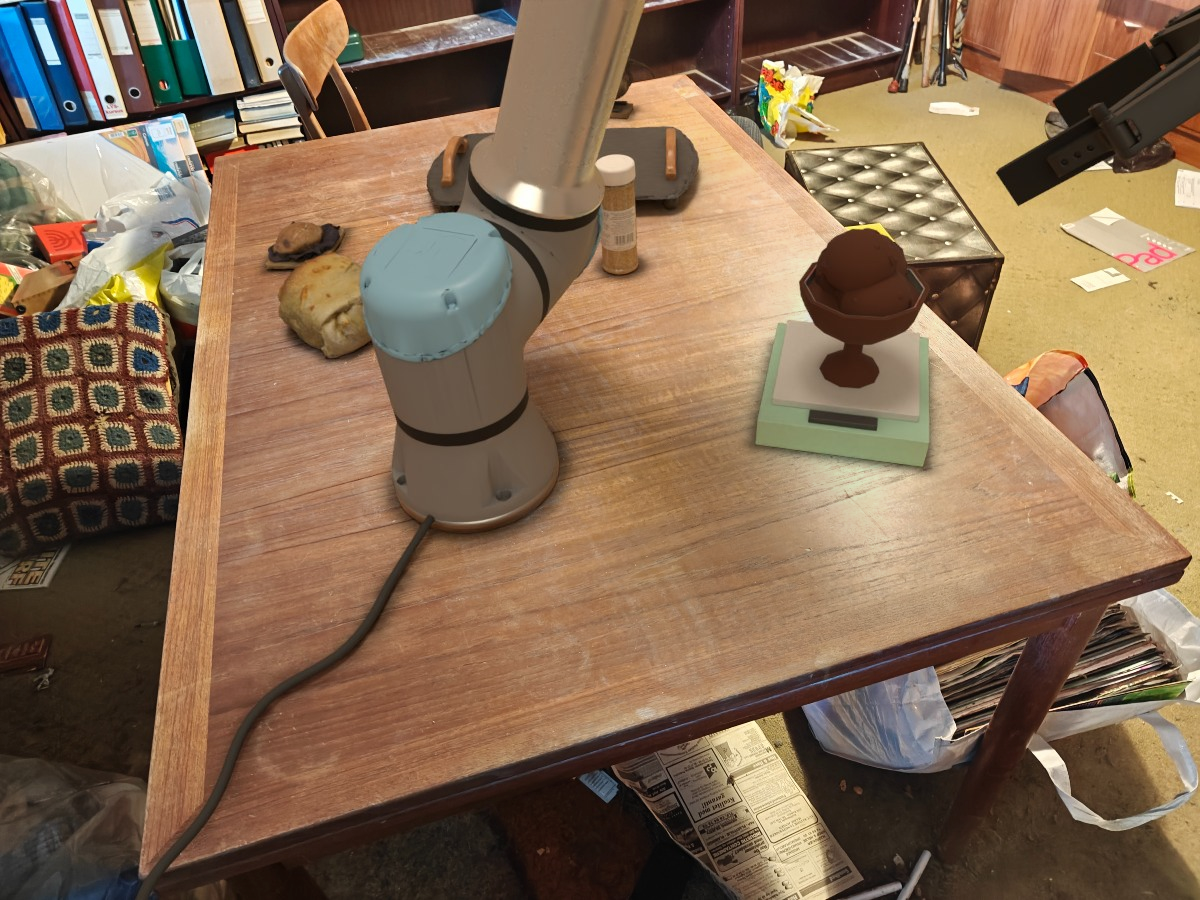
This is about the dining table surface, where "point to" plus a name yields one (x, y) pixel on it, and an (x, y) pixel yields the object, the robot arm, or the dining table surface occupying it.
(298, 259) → the open sandwich
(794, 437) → the kitchen scale
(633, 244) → the sprinkles bottle
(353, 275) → the pastry
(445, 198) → the serving tray
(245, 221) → the dining table surface
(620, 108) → the figurine
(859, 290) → the ice cream bowl
